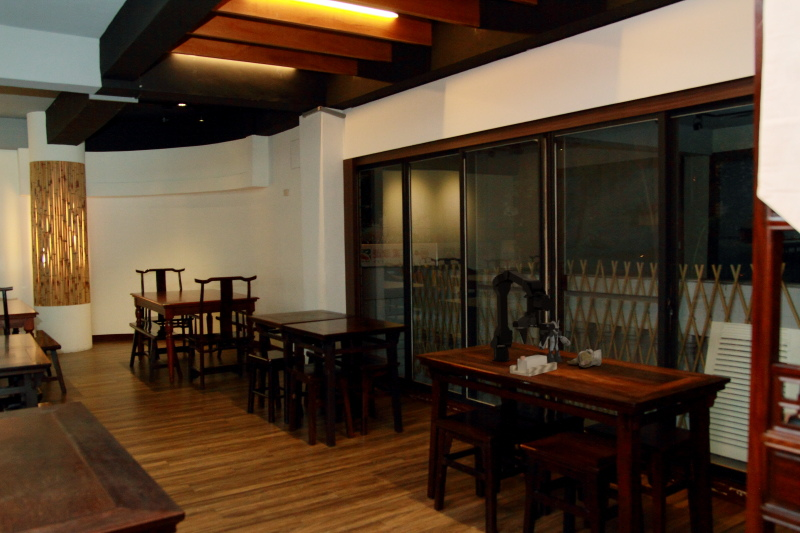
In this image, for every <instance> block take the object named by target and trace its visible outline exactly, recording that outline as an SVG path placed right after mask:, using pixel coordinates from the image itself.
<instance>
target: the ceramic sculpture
mask: <svg viewBox="0 0 800 533" xmlns="http://www.w3.org/2000/svg"><path fill="white" fill-rule="evenodd" d="M602 355H603V354H602V349H600V348H599V349H597V350H593V349H592V348H589V347H586V349H585V350H581V351H580V352H579V353H578V354H577V357H575V358H573V359H572V360H566V362H567V363H568V364H571V365H578V366H579V367H582V368H589V367H591V366H595V367H599V366H601V364H602V360H603V359H602V357H603V356H602Z"/></svg>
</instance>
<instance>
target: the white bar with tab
mask: <svg viewBox="0 0 800 533" xmlns="http://www.w3.org/2000/svg"><path fill="white" fill-rule="evenodd" d="M547 356H548V355H541V354H534V355H530V356H526V355H521V356H520V358H517V364H518V371H522V372H526V369H528V368H532V367H536V366H540V365H544V364H548V363H547Z"/></svg>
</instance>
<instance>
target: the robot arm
mask: <svg viewBox="0 0 800 533" xmlns="http://www.w3.org/2000/svg"><path fill="white" fill-rule="evenodd" d="M514 283H515V284H516V285H518V286H520V287H521V290H522V291H523V292H524V293H525V294H524V295H523V298H524V299H526V300H525V301H526V303H525V304H526V306H525V307H526V311H524V314H523V315H522V316H521V317H520V318H519V319H517V320H513V321H512V325H511V326H512V328H514V329H515V330H516V331H518V333H519V335H520V338H521V340H522V342H523V345H526V344H527V339H528V330H529V329H528V328H535V329H536V328H537V329H539V333H540V342H541V346H544V344H545V342H546V340H547V338H548V336H549V334H550V332H552V331H553V330H555V324H554V323H551V322H543V321H542V320H541V314H543V312H550V311H551V310H552V308H553V306H554V303H553V300H552V298H550V297H549V296H550V295H549V294H547V290H546V289H545V287H544V284H543V282H542V281H541V280H540V279H537V278H531V277H530V278H529V277H528V276H525V275H524V274H522V273H520V272H518V271H517V270H516V269H506V270H504V271H503V272H501V273H499V274H497V275H496V276H495V277H494V278H493V279H492V283H491V285H492V289H493V292H494V293H495V295H496V315H497V317H496V318H497V325H496V328H495V330H494V332H493V338H492V339H491V341H490V343H489V345H490V348H491V349H493V358H492V359H491V361H493V362H498V363H499V362H500V363H505V362H508V361H509V362H510V361H511V359H510V350H509V348H512V345H513V340H514V336H513V335H514V334H513V333H514V332H513V329H511V328H510V327H509V306H508V305H509V304H508V303H509V302H508V300H509V298H508V296H509V294H510V292H511V289H512V285H513V284H514ZM542 311H543V312H542ZM548 339H549V338H548Z"/></svg>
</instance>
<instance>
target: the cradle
mask: <svg viewBox="0 0 800 533" xmlns="http://www.w3.org/2000/svg"><path fill="white" fill-rule="evenodd" d="M557 364H558V362H552V363H547V364H544V365H540V366H536V367H532V368H528V369H526V372H522V371H518V363H517V364H512V365H510V366H509V373H510V374H513V375H520V376H525V377H532V376H533V377H534V376H536V375H540V374H543V373H549V372H552V371H555V370H557V369H558V365H557Z"/></svg>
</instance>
